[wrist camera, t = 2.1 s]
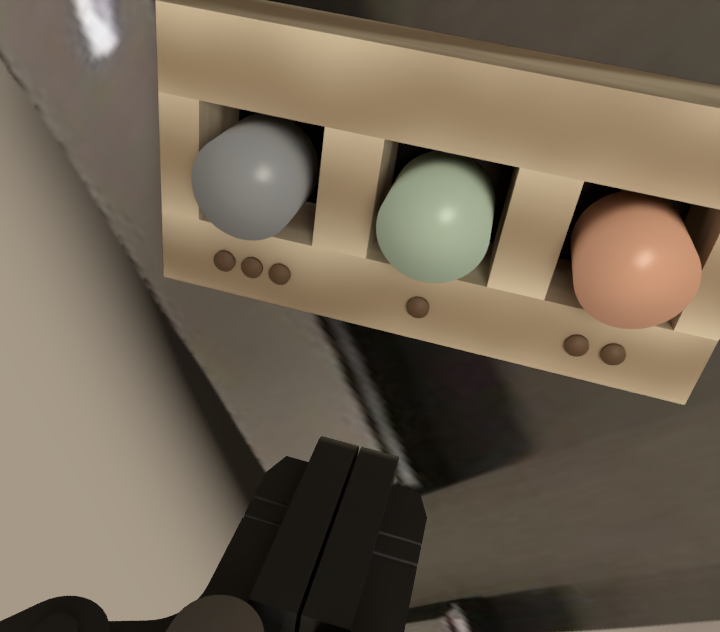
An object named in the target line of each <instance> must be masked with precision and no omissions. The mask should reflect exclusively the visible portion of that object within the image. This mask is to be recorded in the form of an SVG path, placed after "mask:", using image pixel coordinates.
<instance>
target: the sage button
mask: <svg viewBox="0 0 720 632" xmlns="http://www.w3.org/2000/svg"><path fill="white" fill-rule="evenodd" d="M495 203H496V198H495V191H494V187H493V184H492V181H491V179H490V177H489V176H488V174H487V173H486V171H485V170H484V169H483V168H482V167H481V166H480V165H479V164H478V163H477V162H476V161H474V160H473V159H471V158H470V157H467V156H462V155H457V154H452V153H448V152H443V151H431V152H427V153H424V154H422V155H419V156H418V157H416V158H414V159H413V160H411V161H410V162H409V163H408V164H407V165H406V166H405V167H404V168H403V169H402V170H401V172H400V173H399V175H398V177H397V178H396V180H395V182H394V184H393V186H392V187H391V189H390V191H389V193H388V195H387V196H386V198H385V200H384V202H383V204H382V206H381V208H380V210H379V213H378V216H377V221H376V234H377V240H378V243H379V246H380V248H381V251H382V253H383V254H384V256H385V257H386V259H387V260H388V261H389V263H390V264H391V265H392V266H393V267H394V268H395V269H397V270H398V271H399V272H401V273H402V274H404V275H406V276H407V277H410V278H412V279H414V280H417V281H421V282H426V283H445V282H451V281H454V280H457V279H459V278H461V277H464V276H465V275H467V274H468V273H470V272H471V271H472V270H474V269H475V268H476V267H477V266H478V264H479V263H480V262H481V261H482V259H483V258H484V256H485V254H486V252H487V249H488V246H489V241H490V236H491V230H492V224H493V217H494V211H495Z"/></svg>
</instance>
